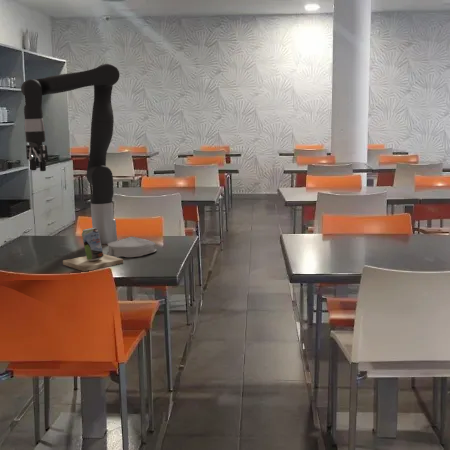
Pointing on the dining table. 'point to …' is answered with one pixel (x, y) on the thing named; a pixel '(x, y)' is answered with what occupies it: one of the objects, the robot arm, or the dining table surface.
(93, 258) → the beverage can
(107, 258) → the coaster board
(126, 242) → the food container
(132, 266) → the dining table surface
